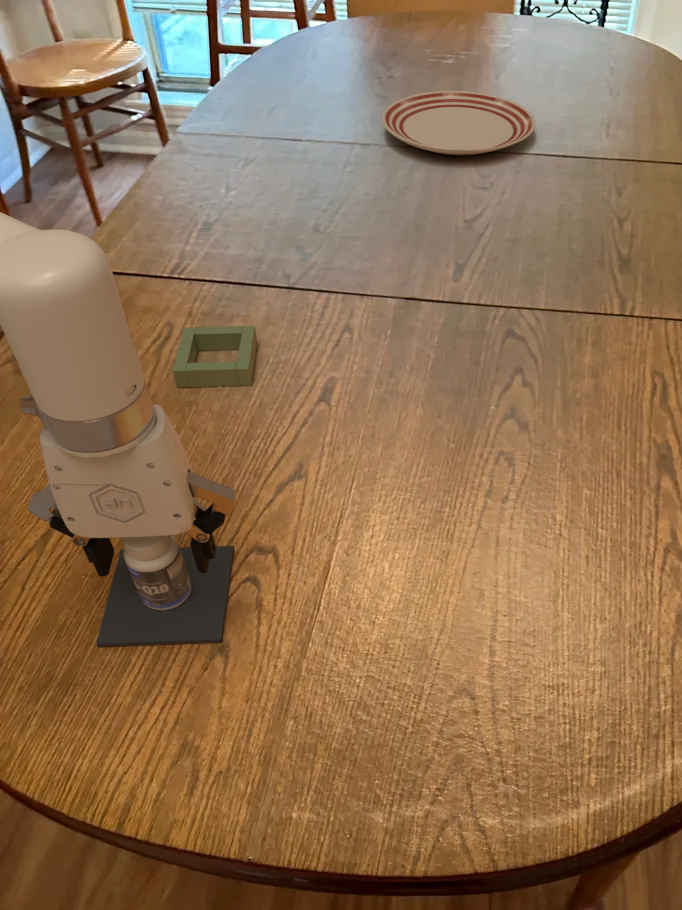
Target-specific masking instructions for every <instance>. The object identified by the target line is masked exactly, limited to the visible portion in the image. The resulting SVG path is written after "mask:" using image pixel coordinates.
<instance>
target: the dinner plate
mask: <svg viewBox="0 0 682 910" xmlns="http://www.w3.org/2000/svg"><path fill="white" fill-rule="evenodd" d="M381 123H382V125H383V127H384V128H385V130H386V131H388V132H389V133H390V134H391V135H392V136H393V137H395V138H396V139H398V140H399V141H402V142H403V143H405V144H407V145H409V146H413V147H415V148H418V149H422V150H424V151H428V152H432V153H436V154H442V155H447V156H448V155H449V156H473V155H481V154H485V153H489V152H494V151H499V150H501V149H505V148H508V147H511V146H513V145H515V144H518V143H520V142H522V141H524V140H525V139H527V138H529V137H530V136H531V135H532V133H533V132H534V131H535V128H536V119H535V117H534V115H533V113H532V112H530V111H529V110H528V109H527V108H526V107H524V106H522V105H521V104H519V103H517V102H515V101H513V100H509V99H507V98H504V97H501V96H498V95H493V94H489V93H484V92H478V91H477V92H476V91H467V90H436V91H427V92H420V93H415V94H412V95H408V96H405V97H402V98H399V99H397V100H395V101H393V102H392V103H390V104H389V105H388V106H387V107H385V108H384V110H383V111H382V114H381Z"/></svg>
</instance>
